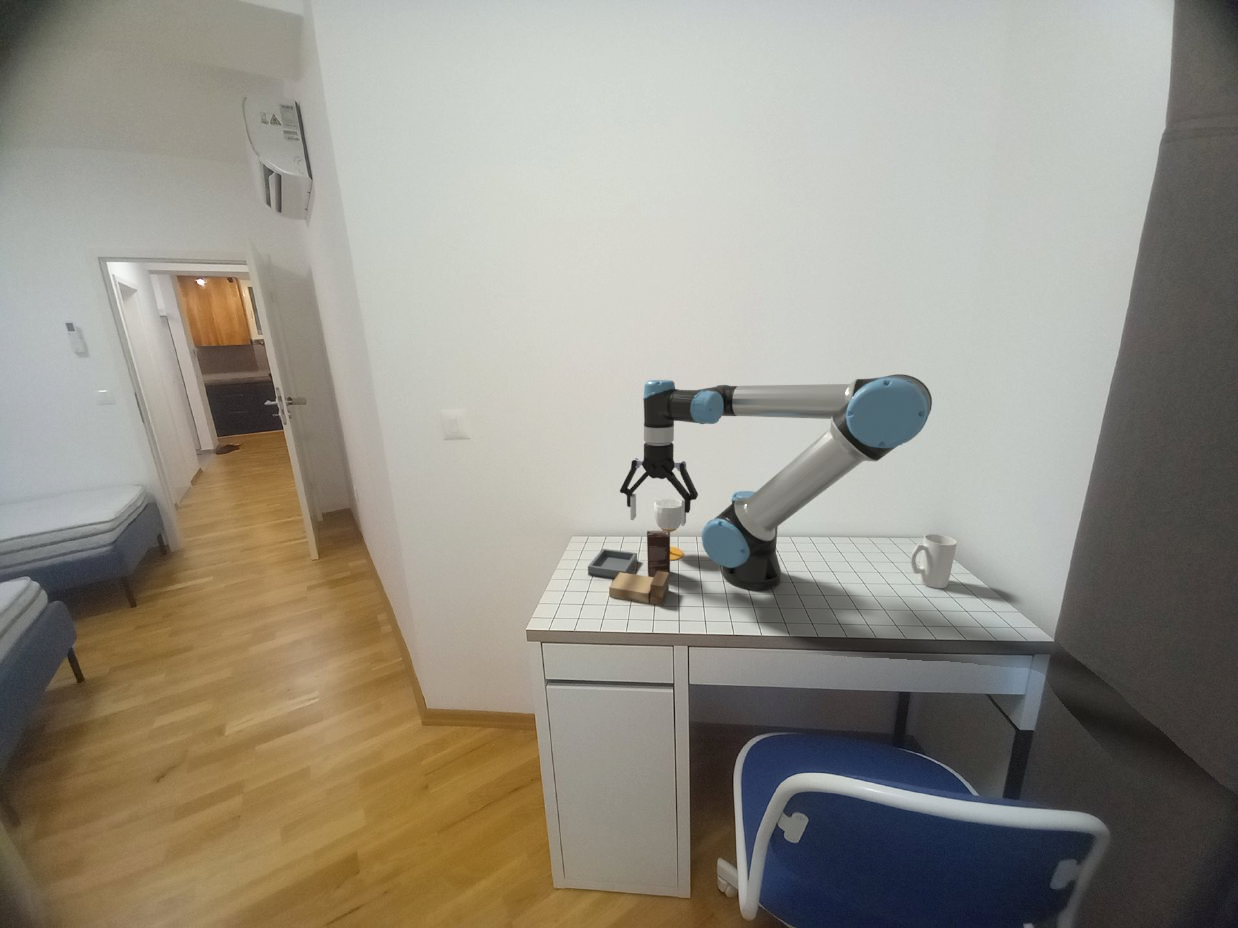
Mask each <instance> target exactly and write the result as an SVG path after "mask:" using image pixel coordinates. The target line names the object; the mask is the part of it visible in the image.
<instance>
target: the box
mask: <svg viewBox="0 0 1238 928" xmlns="http://www.w3.org/2000/svg"><path fill="white" fill-rule="evenodd" d="M646 547H647V548H646V551H647V553H646V554H647V576H648V577H654V576H655V574H656V573H657V571H662V572H669V578H670V577H671V560H670V547H671V534H670V535H669V532H668V530H665V531H663V530H646Z"/></svg>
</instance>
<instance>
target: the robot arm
mask: <svg viewBox="0 0 1238 928" xmlns="http://www.w3.org/2000/svg"><path fill="white" fill-rule="evenodd" d="M643 387H644V388H643V399H642V401H643V419H644V420H643V441H644V444H643V460H640V459H638V458H637V457H636V458H634V459H633V460H631V462H630V464H631V465H630V470H629V472H628V474H627V475H626V477H625V479H624V481H623V483H622V485H621V487H620V489H619V493H621V494H624V495H626V507H627V508H630V521H634V520H635V519H636V517H637V493H634V492H636V490H637V489H638V488H639V487H640V486H641V485H642V483H643V482H644V481H646V479H647V478H648V477H650V478H651V479H660V480H664V479H666V480H667V481H668V482H670V484H671V485H672V486H673V487H674V489H675V490H676V491H677V493H679V495H680V496H681V497H682V500H681V501H682V512H681V524H680V526H681V527H683V526H684V527H685V526H686V523H687V514H689V513H690V510H691V505H692V503H691V501H693V500H696V499H697V498H698V496H699V494H698V491H697V489H696V487H695V484H694V483H693V481H692V478H691V476H690V474H689V473H688V470H687V463H686V461H684V460H683V461H681V462H675V460H674V444H673V442H674V440H675V439H674V438H675V435H674V434H675V433H674V431H675V422H687V423H693V424H695V423H696V424H699V425H705V424H706V425H707V424H708V425H715V424H717V423H718V422H719V421H720V419H721V418H722V417H754V418H755V417H757V418H760V417H762V418H792V419H793V418H794V419H821V420H822V419H823V420H825V419H826V420H830V427H829V429H828V430H826V431H825V432H824V433H823V434H822V435H821V436H820V437H819V438H817V439H816V440H815V441H813V443H812V444H810V445H809V446H808V447H806V449H804V450H803V451H802V452H801V453H800V454H799V455H797V456H796V457H795V458H794V459H792V460H791V461H790V462H789V463H787V465H786V466H784V467H783V468H782V469H781V470H780V471H779V472H778V473H776V474H775V475H774V476H773V477H772V478H770V479H769V480H768V481H767V482H766V483H765V484H763V485H762V486H761V487H760V488H759V489H757V490H756V491H752V490H750V491H749V490H742V491H736V492H734V493H733V494H732V496H731V504H730V505H728V506H727V507H726V508H725V509H724V510H723V511H721V512H720V513H719V514H718V515H717V516H716V517H714V518H713V519H710V520H708V522H707V523H706V525H705V526H704V527H703V528H702V531H701V544H702V547H703V550H704V551H705V553H706V555H707V556H708V557H709V558H710V559H711V560H712V561H713V562H714V563H716V564H717V565H719V566H722V567H721V568H722V569H721V570H722V571H721V575H722V577H723V578H724V580H725V581H727V582H728V583H729V584H731V585H733V586H736V587H739V588H741V589H746V590H753V591H764V590H770V589H773V588H775V587H777V586H778V585H780V583H781V581H782V569H781V566H780V562H779V558H778V555H777V542H778V541H777V539H778V527H779V526H780V525H782V523H784V522H786V521H787V520H788V519H789V518H790V517H792V516H793V515H794V514H796V513H797V512H799V511H800V510H801V509H803V508H804V507H805V506H806V505H809V503H810V502H812V501H813V500H815V498H817V497H818V496H820V495H821V494H823V492H825V491H826V490H828V488H830V487H831V486H833V485H834V484H835V483H837V482H838V481H839V480H840V479H842V478H843V477H844V476H845V475H847V474H849V472H851V471H853V470H854V469H855V468H856V467H858V466H859V465H860V464H862V463H863V462H878V461H880V460H882V458H884V457H886V455H887V454H889V453H890V452H891V451H893V450H895V449H896V448H897V447H899V446H902V445H903V444H906V443H908V442H910V441H912V440H913V439H914V438H915V437H916V436H918V435H919V434H920V432H921V431H922V430H923V429H924V427H925V425H926V423H927V421H928V418H929V416H930V413H931V411H932V406H933V397H932V395H931V392H930V389H929V388H928V386H927V385H926V384H925V383H924V382H923V381H921V380H920V379H918V378H917V377H914V376H912V375H908V374H902V373H901V374H889V375H886V376H881V377H872V378H856V379H854V380H853V381H852V382H850V383H832V384H830V383H827V384H776V385H774V384H773V385H772V384H771V385H769V384H767V385H764V384H763V385H727V384H720V385H716V386H713V387H706V388H701V389H678V388H676V385H675V382H674V380H670V379H652V380H647V381H646V382H645V383H644V386H643ZM641 466H642V468H643V469H644V471H645V472H644V473H643V474H642V475H641V476H640V477H639V478H638V480H636V482H635V483H634V484H633V485H632V486H631V487H630V488H628V487H629V486H630V484H631V482H632V480H633V478H634V476H635V474H636V473H637V470H638V469H639V468H640V467H641ZM674 469H676V471H677V472H679V473H680V475H681V478H682V480H683V482H684V485H685V486H684V485H683V484H682V482H680V480H679V479H678V478H677V476H676V474H675V473H674V471H673V470H674ZM685 487H686V488H687V489H686V488H685Z"/></svg>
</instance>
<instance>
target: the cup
mask: <svg viewBox="0 0 1238 928" xmlns="http://www.w3.org/2000/svg"><path fill="white" fill-rule="evenodd" d="M653 505H654V506H653V514H654V518H655V521H656V524H657V526H658V527H659V529H660V530H661V531H665V530H668V532H669V535H670V536H671V533H673V532H674V531H676V530H677V529H678V528H680V526H681V512H682V500H680V499H677V498H672V497H671V498H660V499H657V500H656V501H655V502H654V503H653ZM684 555H685V553H684V551H683V550H682V549H681V548H678V547H676V546H670V561H677V560H680V559H681V558H683V557H684Z"/></svg>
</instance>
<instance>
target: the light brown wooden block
mask: <svg viewBox="0 0 1238 928" xmlns="http://www.w3.org/2000/svg"><path fill="white" fill-rule="evenodd" d="M653 578H654V577H648V575H642V574H641V575H640V574H636V573H635V574H633V573H629V574H628V573H621V572H620V573H619V574H618V575H617V577H616V578H615V579H614V580H613V581H612V583H611V584H610V585H609V586H608V591H609V593H608V594H609V597H610V598H614V599H621V600H627V601H634V602H639V603H644V604H649V602H650V584H651V582H652V580H653Z"/></svg>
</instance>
